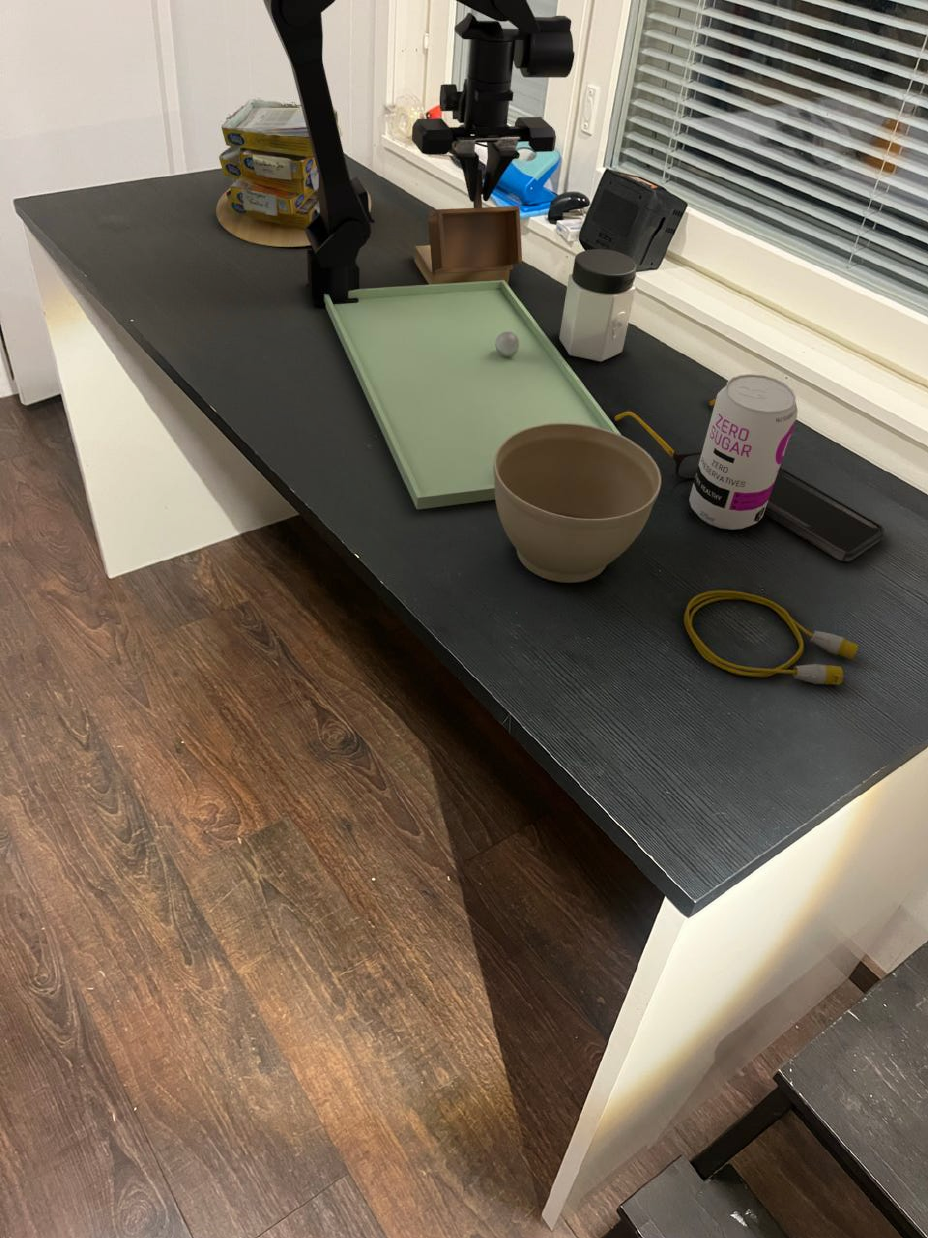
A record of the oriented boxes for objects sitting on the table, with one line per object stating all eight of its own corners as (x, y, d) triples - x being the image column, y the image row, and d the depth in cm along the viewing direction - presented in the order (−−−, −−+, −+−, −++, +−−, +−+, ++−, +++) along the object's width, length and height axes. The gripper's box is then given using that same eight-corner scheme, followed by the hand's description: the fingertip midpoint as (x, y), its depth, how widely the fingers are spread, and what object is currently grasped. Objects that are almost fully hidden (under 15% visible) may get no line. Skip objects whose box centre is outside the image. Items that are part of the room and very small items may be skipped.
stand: (432, 289, 140) (433, 273, 139) (414, 260, 147) (414, 245, 146) (508, 284, 144) (509, 269, 142) (487, 256, 150) (488, 241, 149)
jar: (591, 368, 127) (608, 281, 119) (547, 343, 131) (559, 258, 123) (633, 348, 132) (651, 264, 124) (589, 325, 136) (604, 242, 128)
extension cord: (794, 726, 84) (802, 712, 82) (657, 626, 92) (662, 611, 90) (866, 665, 90) (874, 650, 89) (733, 576, 98) (738, 562, 97)
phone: (776, 464, 112) (888, 529, 104) (773, 472, 112) (884, 537, 105) (735, 487, 108) (849, 556, 100) (732, 495, 108) (845, 565, 101)
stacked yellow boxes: (308, 262, 144) (304, 145, 132) (184, 218, 152) (170, 104, 140) (399, 215, 160) (402, 107, 148) (282, 177, 168) (277, 72, 156)
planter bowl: (598, 497, 106) (617, 413, 99) (665, 593, 95) (691, 506, 88) (462, 517, 102) (471, 430, 94) (516, 619, 91) (530, 530, 83)
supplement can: (765, 496, 108) (804, 380, 98) (757, 540, 103) (798, 422, 92) (694, 480, 110) (725, 364, 99) (682, 522, 104) (714, 404, 94)
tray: (416, 509, 102) (417, 497, 101) (323, 301, 135) (322, 291, 134) (644, 480, 109) (647, 468, 108) (502, 289, 142) (503, 279, 141)
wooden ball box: (432, 274, 139) (442, 271, 134) (424, 176, 135) (434, 170, 130) (510, 269, 142) (522, 266, 138) (505, 173, 138) (517, 167, 134)
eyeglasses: (672, 486, 109) (680, 457, 106) (613, 420, 118) (619, 391, 115) (775, 467, 113) (785, 439, 111) (710, 404, 123) (718, 377, 120)
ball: (523, 332, 125) (523, 348, 128) (502, 322, 125) (503, 338, 128) (511, 349, 124) (511, 365, 127) (490, 339, 125) (491, 355, 128)
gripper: (534, 58, 130) (520, 176, 141) (403, 58, 125) (399, 181, 136) (565, 83, 123) (548, 206, 134) (426, 84, 118) (420, 211, 129)
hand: (478, 200), depth 133 cm, fingers closed on wooden ball box, 2 cm apart
